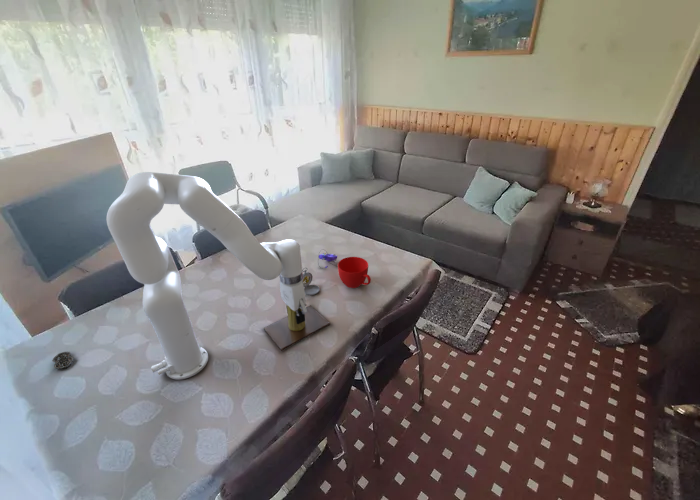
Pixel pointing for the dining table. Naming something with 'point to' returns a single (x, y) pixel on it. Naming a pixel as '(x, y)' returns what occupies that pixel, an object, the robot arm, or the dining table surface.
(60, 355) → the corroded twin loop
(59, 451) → the dining table surface
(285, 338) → the serving board
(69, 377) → the dining table surface
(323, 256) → the game controller
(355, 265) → the ceramic cup
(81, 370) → the dining table surface
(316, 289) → the pocket watch
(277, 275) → the robot arm
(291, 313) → the vase
